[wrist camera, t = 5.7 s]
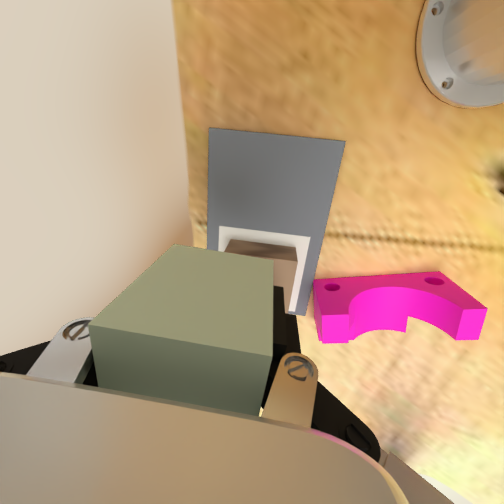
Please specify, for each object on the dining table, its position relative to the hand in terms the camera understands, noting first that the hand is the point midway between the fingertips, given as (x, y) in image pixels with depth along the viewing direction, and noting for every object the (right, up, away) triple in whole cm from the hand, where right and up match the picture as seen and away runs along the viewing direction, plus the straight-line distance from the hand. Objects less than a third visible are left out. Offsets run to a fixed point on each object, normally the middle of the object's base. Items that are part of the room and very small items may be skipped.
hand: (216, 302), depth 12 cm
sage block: (0, 0, +1) cm, 1 cm away
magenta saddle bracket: (+18, -3, +19) cm, 26 cm away
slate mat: (+3, +5, +17) cm, 18 cm away
